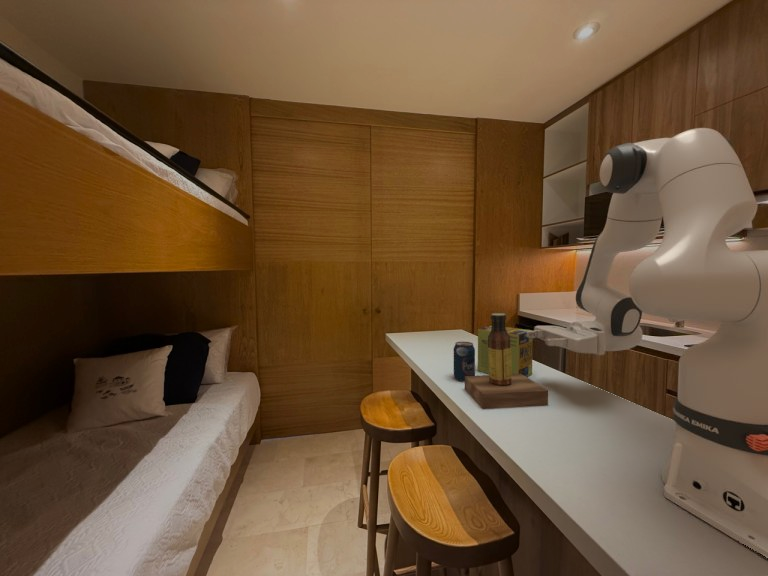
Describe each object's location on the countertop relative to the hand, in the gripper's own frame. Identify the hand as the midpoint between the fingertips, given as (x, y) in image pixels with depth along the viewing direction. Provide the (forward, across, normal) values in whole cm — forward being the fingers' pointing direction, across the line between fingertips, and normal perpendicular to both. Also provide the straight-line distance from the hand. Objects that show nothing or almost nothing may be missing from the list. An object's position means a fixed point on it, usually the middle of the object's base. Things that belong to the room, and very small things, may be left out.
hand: (536, 338), depth 92 cm
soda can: (+16, -16, +17) cm, 28 cm away
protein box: (0, -20, +17) cm, 26 cm away
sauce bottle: (+11, 0, +13) cm, 17 cm away
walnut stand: (+10, 0, +16) cm, 19 cm away
